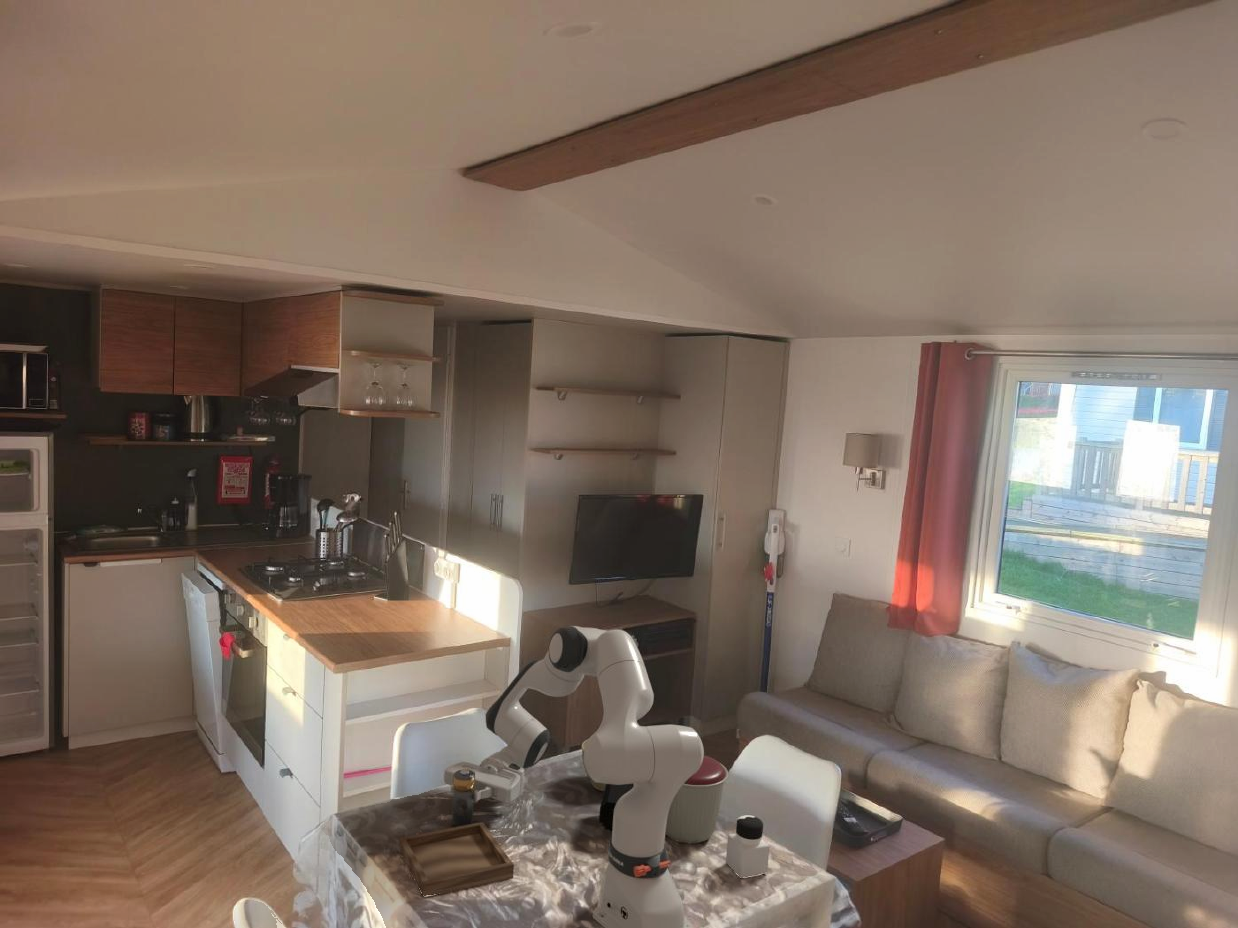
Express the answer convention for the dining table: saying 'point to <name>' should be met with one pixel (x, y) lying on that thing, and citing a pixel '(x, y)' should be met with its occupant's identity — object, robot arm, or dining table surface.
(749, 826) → the medicine bottle
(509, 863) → the tray
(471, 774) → the cell
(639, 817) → the robot arm
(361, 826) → the dining table surface
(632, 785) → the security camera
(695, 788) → the canister
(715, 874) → the dining table surface
